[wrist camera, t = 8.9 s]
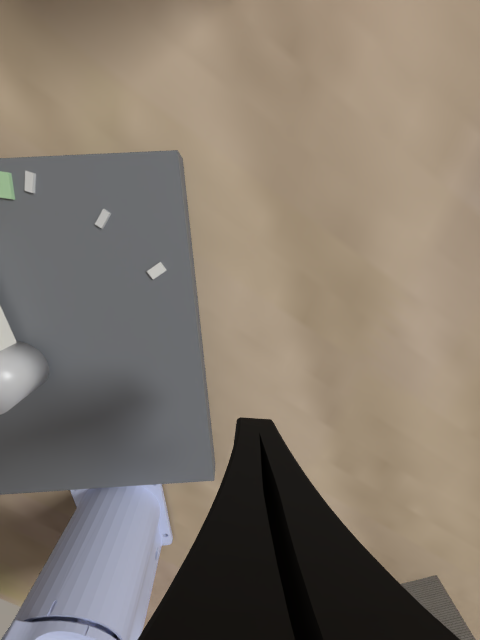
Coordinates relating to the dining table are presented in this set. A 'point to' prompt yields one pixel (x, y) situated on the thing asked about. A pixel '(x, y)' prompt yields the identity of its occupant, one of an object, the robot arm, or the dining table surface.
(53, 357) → the dial board
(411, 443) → the dining table surface
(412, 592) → the house
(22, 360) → the dial pointer
